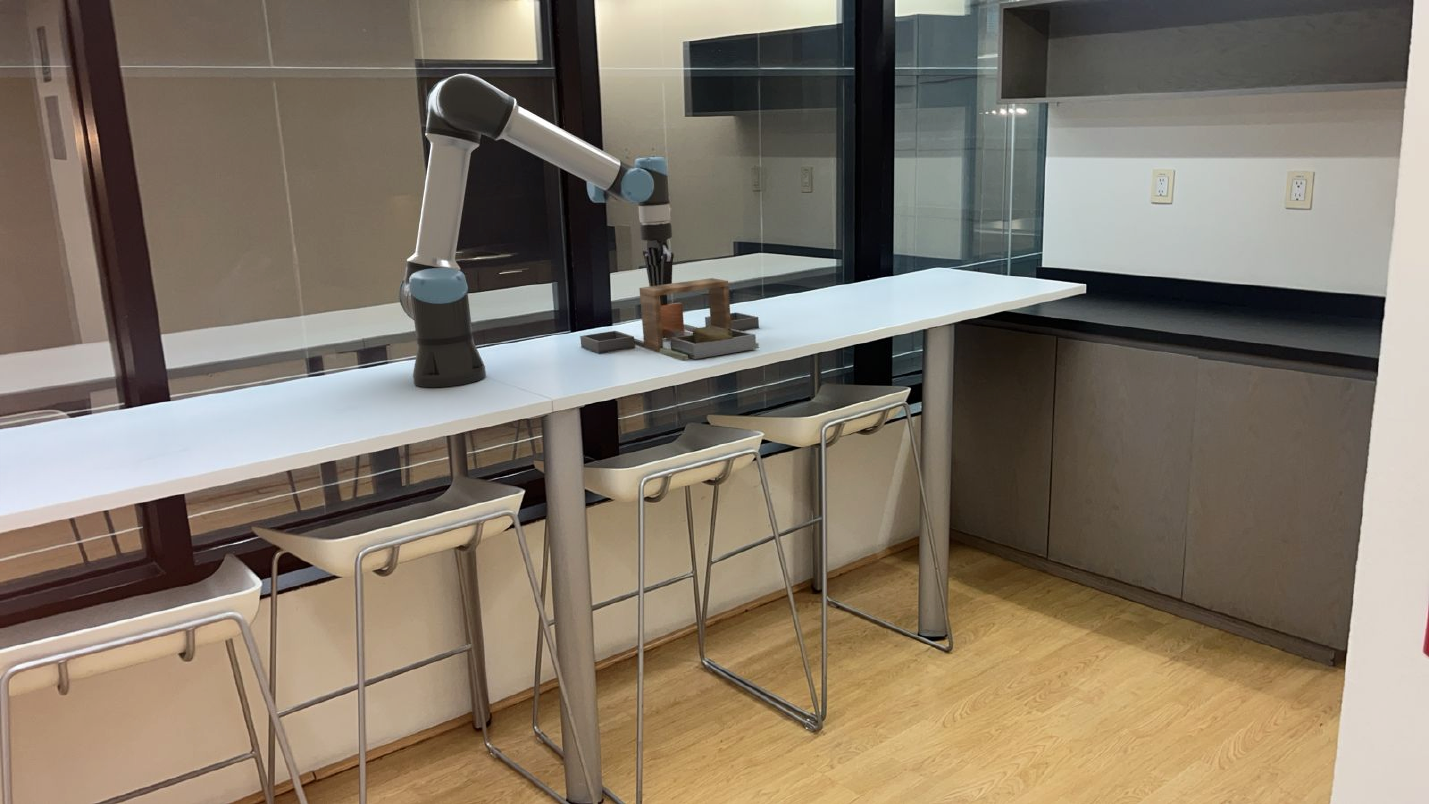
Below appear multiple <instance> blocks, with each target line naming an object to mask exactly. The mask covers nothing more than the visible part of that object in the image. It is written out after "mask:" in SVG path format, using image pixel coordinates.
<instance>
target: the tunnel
mask: <svg viewBox="0 0 1429 804" xmlns="http://www.w3.org/2000/svg"><path fill="white" fill-rule="evenodd" d="M729 287H730V286H729V280H725V279H718V278H713V277H711V278H703V279H697V280H688V281H687V280H686V281H680V282H672V284H665V285H657V286H642V287H639V298H640V311H641V312H640V313H641V320H642V321H641V324H642V334H643V336H642V337H643V340H641V339H637V338H635V337H634V342H635V346H637V347H639V348H640V347H641V348H644V349H646V350H650V351H653V352H657V353H659V354H662V355H666V356H667V357H671V358H675V359H677V360H680V361H688V360H689V357H688V355H686V354H682V353H679V352H676V351H673V350H671V348H670V349H669V348H666V347H664V342H663V338H662V325H661V313H660V300H659V295H667V296H668V295H673V294H679V293H681V294H682V293H687V292H695V291H701V290H707V291H708V300H709V301H708V302H709V303H708V304H709V315H710V320H711V326H716V327H719V328H724V329H729V328H730V329H731V318H730V313H731V307H730V306H731V303H730V288H729ZM696 328H699V327H697V326H694V325H690V324H685V323H684V331H687V332H690V333H693V331H694V330H696ZM758 348H759V343H758V342H756V349H758Z"/></svg>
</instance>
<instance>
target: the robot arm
mask: <svg viewBox="0 0 1429 804" xmlns="http://www.w3.org/2000/svg"><path fill="white" fill-rule="evenodd" d="M425 107H426V109H425V110H426V115H427V120H426V126H425V127H426V128H425V137H426V138H427V140H428V141H429V143H430V150H429V157H428V164H427V170H426V178H425V183H424V190H423V198H422V204H421V205H422V206H421V212H420V219H419V224H418V225H419V227H418V232H417V240H416V246H415V252H414V253H413V255H411V256H409V257H408V258H407V259H406V265H405V272H404V277H403V279H402V282H401V283H400V285H399V287H398V288H399V289H398V300H399V301H398V302H399V303H400V305H401V308H402V310H403V313H405V314H406V315H407V316H408V317H409V318H410V319H412V320H413V322H414V328H415V335H416V343H417V344H416V345H417V350H416V357H415V361H414V362H415V363H414V367H413V371H412V372H413V373H412V376H413V384H414V385H415V386H417V387H421V388H444V387H445V388H446V387H447V388H448V387H454V386H455V387H456V386H461V385H466V384H471V383H474V382H477V381H481V380H483V379H485V378H486V377H487V374H486V366H485V364H484V363H485V362H483V359H482V357H481V355H480V353H479V350H478V349H477V347H476V344H475V340H474V336H473V335H474V334H473V328H472V327H473V326H472V319H471V317H472V316H471V310H470V301H469V294H468V290H469V288H468V283H467V280H466V276H465V274H464V273H463V271H461V267H460V266H459V264H458V263H457V261H456V253H457V247H458V246H457V245H458V241H459V235H460V228H461V221H462V214H463V213H462V212H463V208H464V202H465V200H464V199H465V194H466V188H467V180H468V173H469V169H470V168H469V167H470V161H471V155H472V154H471V153H472V152H473V151H474V150H475V149H477V148H478V147H480V142H481V136H482V135H484V136H485V137H486V136H487V137H488V138H490V139H492V140H494V141H498V140H504V141H507V142H509V143H510V144H512V145H515V146H517V147H519V148H520V149H522V150H525V151H527V152H529V153H530V154H532V155H534V156H536V157H538V158H540V159H542V160H544V161H547V162H548V163H550V164H552V165H554V166H556V167H558V168H560V169H562V170H564V171H566V172H567V173H570V174H572V175H574V176H576V177H578V178H580V179H582V180H583V181H585V182H586V190H587V195H588V197H589V199H590V201H592V203H598V204H599V203H603V204H605V203H612V202H617V203H619V202H620V203H630V204H637V206H638V217H639V218H638V219H639V223H641V225H639V226H640V227H639V229H640V239H641V240H642V241H646V249H645V250H643V251H642V256H643V258H644V262H645V268H646V273H647V279H648V280H647V281H648V285H649V286H648V287H650V286H657V285H665V284H672V283H673V262H674V258H675V255H674V252H669V245H668V240H669V239H671V238H673V229H672V224H671V222H669V221H671V211H672V207H670V193H669V192H670V190H669V173H668V165H667V161H666V158H664V157H662V156H656V157H655V156H654V157H653V156H652V157H638V158H636V159H635V161H634V166H632V165H629V164H628V163H626V162H624V161H622V160H620V159H619V158H617V157H615V156H613V155H611V154H610V153H607V152H605V151H604V150H601V149H600V148H598V147H596V146H594V145H592V144H590V143H588V142H587V141H585V140H584V139H581V138H580V137H578V136H576V135H573V134H572V133H569V132H568V131H566V130H565V129H563V128H560V127H559V126H558V125H555V124H554V123H551V122H549V121H548V120H546V119H544V118H542V117H540V116H539V115H537V114H534V113H533V112H530V111H529V110H527V109H525V108H523V107H521V106H519V104H518V101H517V99H516V98H515V97H512V96H511V95H509V94H507V93H505V92H504V91H502V90H500V89H499V88H497V87H496V86H494V85H492V84H490V83H489V82H487V81H485V80H484V79H482V78H480V77H479V76H476V75H473V74H469V73H459V74H456V75H452V76H450V77H446V78H443V79H441V80H439V81H438V82H437V83H435V84H434V85H433V87H432V88H431V90H429V92H428V95H427V98H426V101H425ZM668 299H669V296H668V294H667V295H659V300H660V305H666V304H669V300H668Z"/></svg>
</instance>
